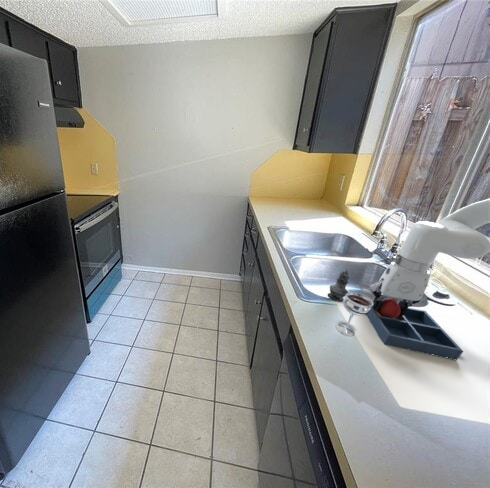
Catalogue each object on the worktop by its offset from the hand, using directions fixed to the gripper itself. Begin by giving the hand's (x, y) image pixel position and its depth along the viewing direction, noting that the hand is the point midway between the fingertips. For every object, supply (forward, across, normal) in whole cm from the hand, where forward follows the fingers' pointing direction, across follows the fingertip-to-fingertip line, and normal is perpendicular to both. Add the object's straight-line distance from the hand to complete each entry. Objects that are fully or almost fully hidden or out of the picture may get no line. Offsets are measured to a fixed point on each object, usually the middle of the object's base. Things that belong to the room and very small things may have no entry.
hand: (386, 310), depth 84 cm
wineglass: (+4, -14, -10) cm, 18 cm away
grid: (+4, +4, -4) cm, 7 cm away
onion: (+3, 0, 0) cm, 3 cm away
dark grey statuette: (+4, -12, +8) cm, 15 cm away
